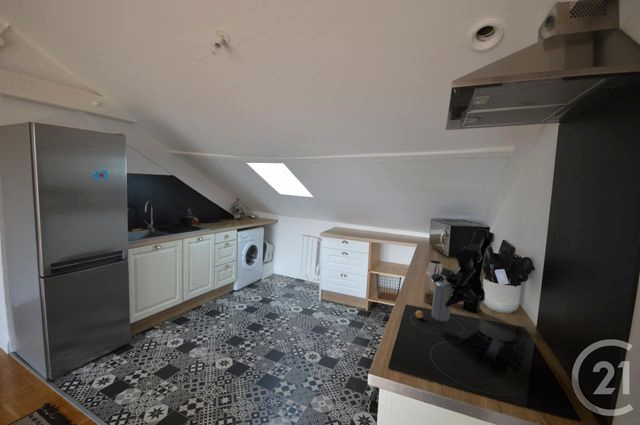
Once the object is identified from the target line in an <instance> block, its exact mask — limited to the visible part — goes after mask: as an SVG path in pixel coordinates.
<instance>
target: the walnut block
mask: <svg viewBox="0 0 640 425" xmlns="http://www.w3.org/2000/svg"><path fill="white" fill-rule="evenodd" d="M431 290H432V289H426V290H425V292H424V299H423V300H424V301H423V302H424V303H426V302H427V303H426V304H430V305H432V304H433V298H432V296H433V293H434V290H433V291H431Z"/></svg>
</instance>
